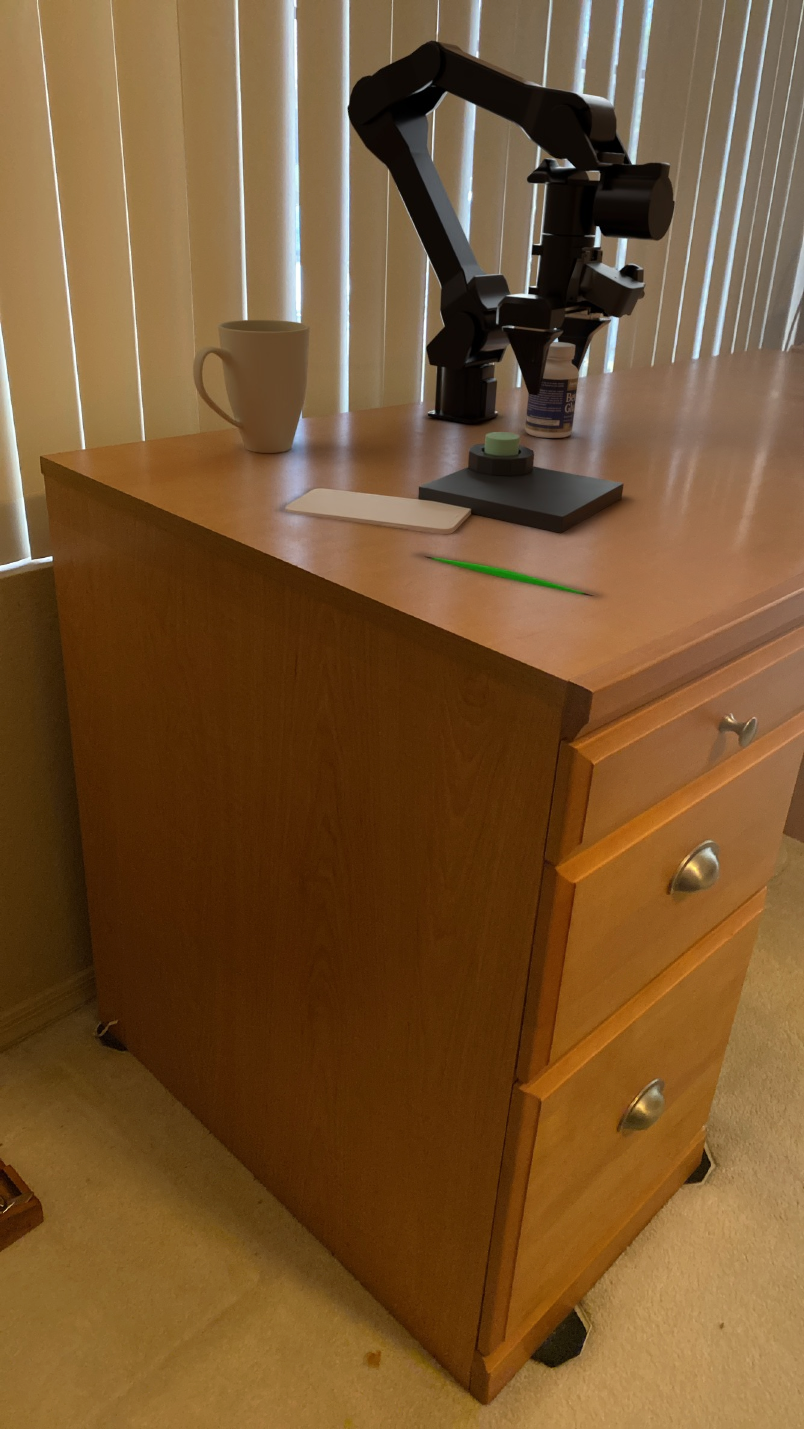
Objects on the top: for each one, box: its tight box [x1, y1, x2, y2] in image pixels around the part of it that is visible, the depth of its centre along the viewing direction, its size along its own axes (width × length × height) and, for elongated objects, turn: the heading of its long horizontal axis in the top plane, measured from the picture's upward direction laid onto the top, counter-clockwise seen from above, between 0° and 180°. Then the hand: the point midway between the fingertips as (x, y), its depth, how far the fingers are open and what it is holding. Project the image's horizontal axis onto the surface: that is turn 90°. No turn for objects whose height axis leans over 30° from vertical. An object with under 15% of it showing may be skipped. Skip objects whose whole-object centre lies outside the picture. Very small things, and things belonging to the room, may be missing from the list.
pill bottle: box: [524, 341, 579, 439], centre depth 110 cm, size 5×5×10 cm
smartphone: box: [285, 487, 472, 535], centre depth 84 cm, size 7×1×15 cm
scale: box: [417, 443, 625, 534], centre depth 88 cm, size 14×14×3 cm
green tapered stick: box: [423, 555, 594, 597], centre depth 71 cm, size 1×14×1 cm, turn 59°
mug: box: [192, 319, 310, 454], centre depth 99 cm, size 11×10×12 cm
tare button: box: [484, 431, 521, 456], centre depth 92 cm, size 3×3×2 cm
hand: (552, 388), depth 110 cm, fingers open, 9 cm apart
